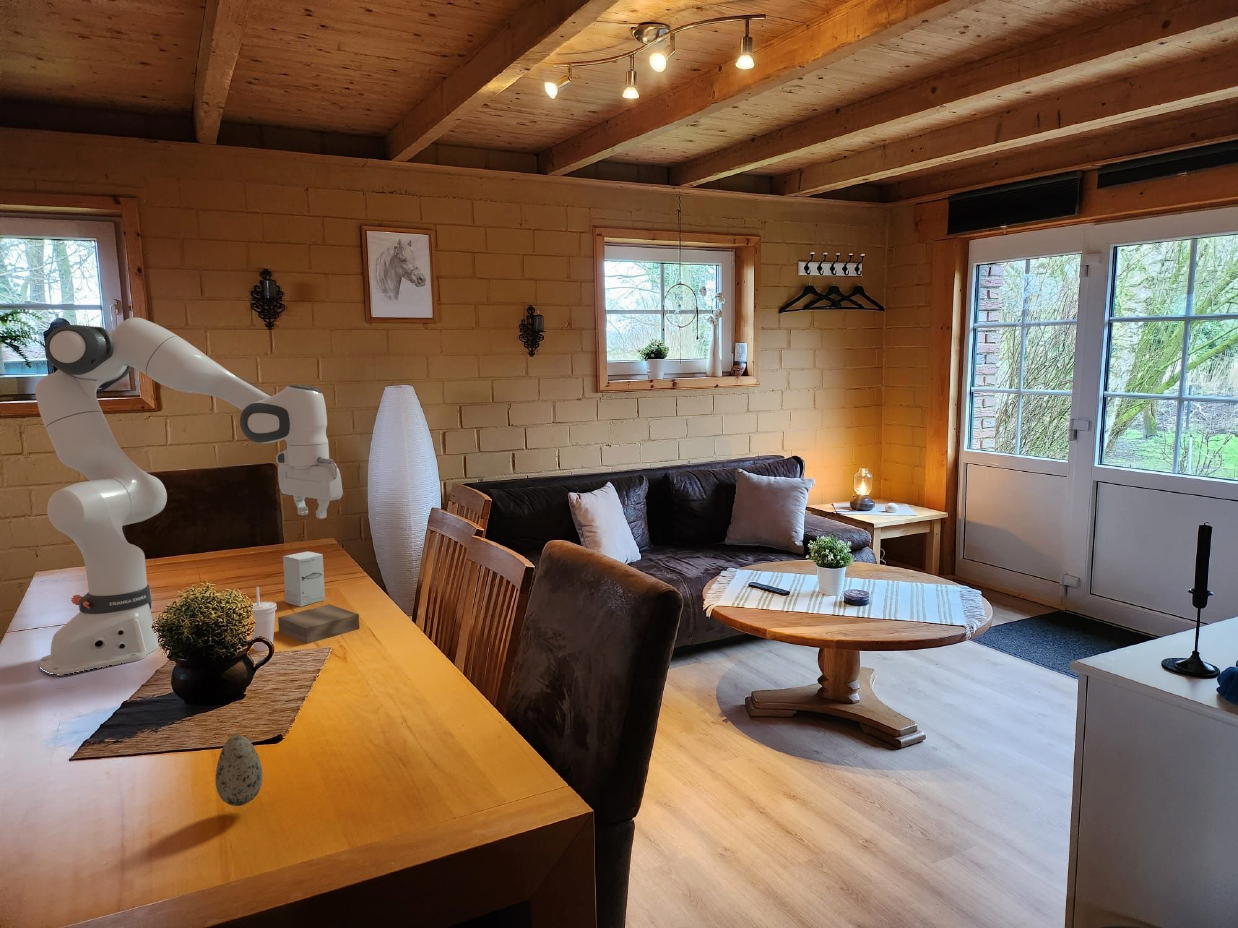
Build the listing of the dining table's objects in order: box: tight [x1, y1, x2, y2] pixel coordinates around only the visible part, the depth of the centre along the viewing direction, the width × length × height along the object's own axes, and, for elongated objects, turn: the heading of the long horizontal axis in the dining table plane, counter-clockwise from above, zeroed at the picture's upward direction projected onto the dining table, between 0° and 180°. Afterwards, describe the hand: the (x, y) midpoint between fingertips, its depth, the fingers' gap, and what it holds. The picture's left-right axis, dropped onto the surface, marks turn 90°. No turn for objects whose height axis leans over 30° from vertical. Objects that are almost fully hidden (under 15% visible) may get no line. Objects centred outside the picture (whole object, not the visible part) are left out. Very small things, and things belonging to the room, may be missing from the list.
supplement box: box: [282, 551, 326, 608], centre depth 210 cm, size 7×7×13 cm
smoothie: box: [251, 586, 278, 653], centre depth 175 cm, size 6×6×14 cm
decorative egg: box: [215, 734, 264, 807], centre depth 112 cm, size 6×6×10 cm
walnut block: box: [277, 604, 361, 645], centre depth 187 cm, size 13×13×4 cm
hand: (312, 516), depth 184 cm, fingers open, 6 cm apart
